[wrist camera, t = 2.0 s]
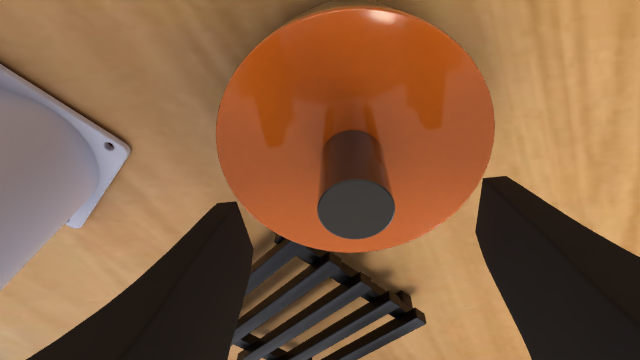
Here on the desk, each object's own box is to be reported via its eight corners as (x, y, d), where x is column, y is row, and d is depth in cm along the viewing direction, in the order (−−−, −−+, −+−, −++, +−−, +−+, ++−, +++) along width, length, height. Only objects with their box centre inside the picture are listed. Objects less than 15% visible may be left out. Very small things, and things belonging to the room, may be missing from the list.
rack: (186, 304, 27) (173, 335, 25) (295, 205, 21) (291, 235, 19) (301, 360, 31) (299, 391, 29) (421, 292, 25) (428, 325, 23)
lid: (201, 197, 16) (163, 269, 12) (264, -57, 10) (228, -54, 7) (401, 259, 18) (417, 338, 14) (545, 74, 12) (630, 129, 9)
